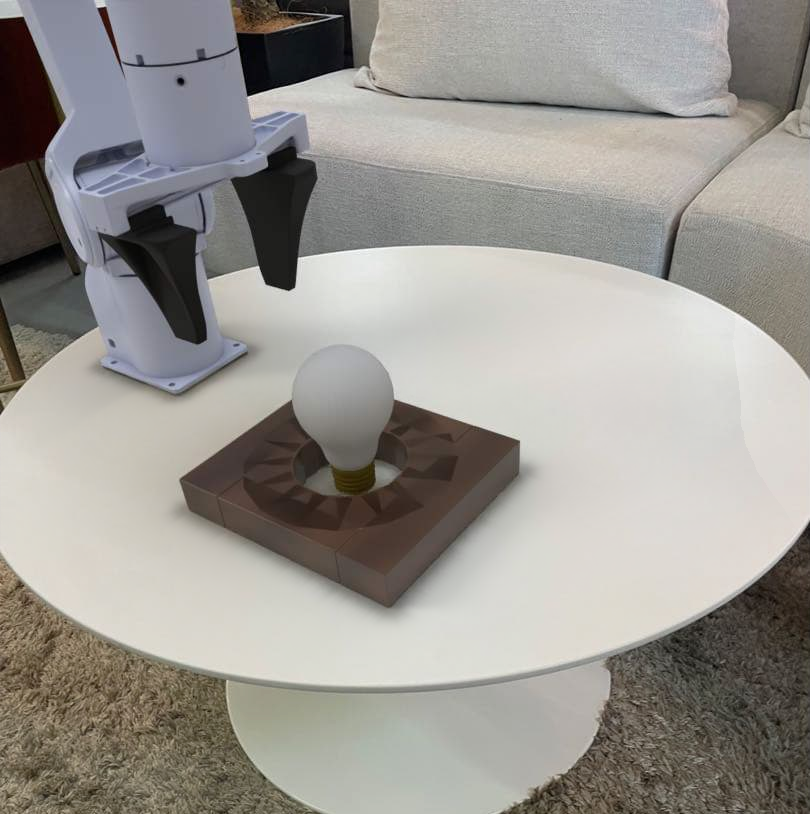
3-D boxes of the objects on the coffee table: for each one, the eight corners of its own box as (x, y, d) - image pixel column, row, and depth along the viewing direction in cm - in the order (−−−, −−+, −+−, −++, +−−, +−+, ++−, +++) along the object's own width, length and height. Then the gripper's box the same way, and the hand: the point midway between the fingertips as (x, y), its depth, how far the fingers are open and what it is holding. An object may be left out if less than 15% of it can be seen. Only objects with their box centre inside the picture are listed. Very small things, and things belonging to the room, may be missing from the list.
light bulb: (391, 525, 49) (376, 381, 42) (298, 518, 50) (269, 376, 43) (410, 466, 53) (399, 327, 46) (324, 461, 54) (301, 324, 47)
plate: (188, 510, 51) (178, 479, 50) (329, 405, 59) (324, 375, 58) (389, 608, 44) (384, 575, 42) (519, 472, 52) (520, 440, 50)
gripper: (114, 98, 33) (194, 383, 42) (336, 26, 42) (364, 277, 51) (15, 84, 37) (109, 351, 46) (239, 19, 45) (281, 256, 54)
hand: (237, 311), depth 49 cm, fingers open, 7 cm apart
